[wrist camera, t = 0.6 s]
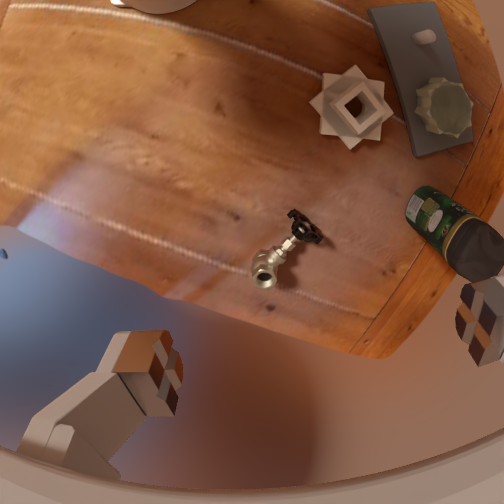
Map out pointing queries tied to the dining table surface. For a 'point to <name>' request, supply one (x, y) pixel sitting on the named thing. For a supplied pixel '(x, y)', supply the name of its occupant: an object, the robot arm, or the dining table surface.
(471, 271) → the coffee jar
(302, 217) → the valve
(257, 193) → the dining table surface
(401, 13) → the board
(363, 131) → the gear
